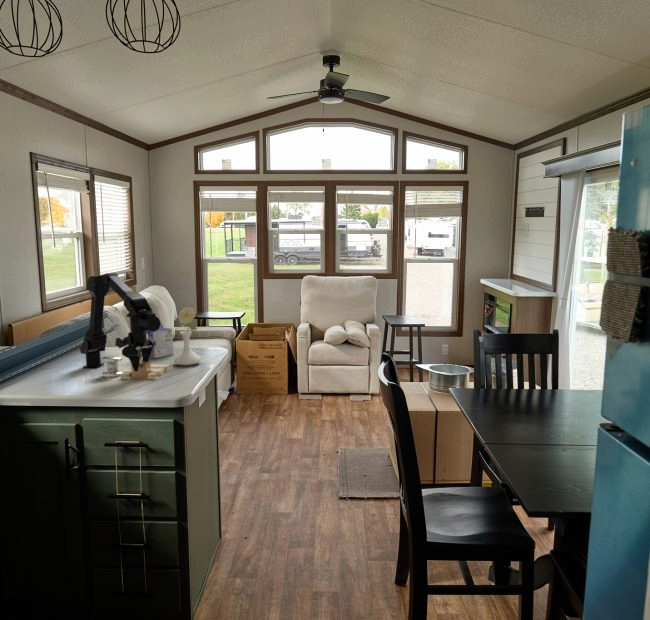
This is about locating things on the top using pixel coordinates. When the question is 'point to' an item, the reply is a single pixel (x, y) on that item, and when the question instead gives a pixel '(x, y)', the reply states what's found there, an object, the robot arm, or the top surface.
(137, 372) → the wooden block
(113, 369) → the bobbin
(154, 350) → the ink cartridge box
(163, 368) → the notched board
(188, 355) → the flower in vase
